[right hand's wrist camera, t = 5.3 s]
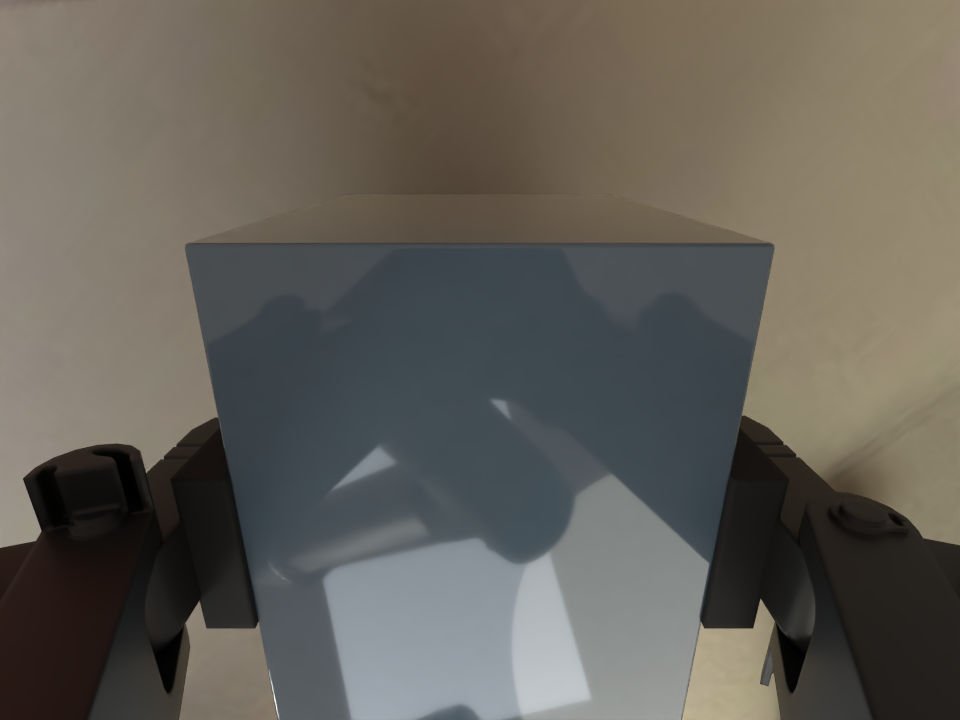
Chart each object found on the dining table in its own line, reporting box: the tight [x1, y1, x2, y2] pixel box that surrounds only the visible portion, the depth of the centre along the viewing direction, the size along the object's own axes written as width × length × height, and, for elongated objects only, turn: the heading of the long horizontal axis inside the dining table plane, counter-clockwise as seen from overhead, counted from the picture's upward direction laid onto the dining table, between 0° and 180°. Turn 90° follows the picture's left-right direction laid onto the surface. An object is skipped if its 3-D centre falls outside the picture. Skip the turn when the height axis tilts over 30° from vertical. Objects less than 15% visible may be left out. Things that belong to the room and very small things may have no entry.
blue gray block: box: [185, 194, 774, 720], centre depth 12 cm, size 7×9×8 cm
